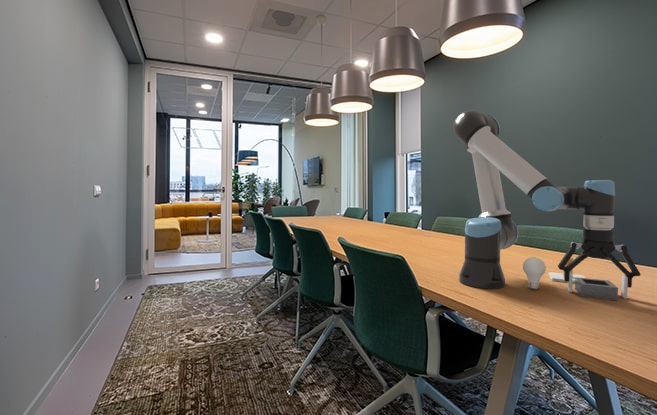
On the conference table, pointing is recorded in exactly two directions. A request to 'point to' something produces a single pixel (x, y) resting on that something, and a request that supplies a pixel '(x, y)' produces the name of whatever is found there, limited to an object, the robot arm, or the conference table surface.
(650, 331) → the conference table surface
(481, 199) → the robot arm
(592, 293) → the grey square frame
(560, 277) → the keeper
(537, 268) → the light bulb
